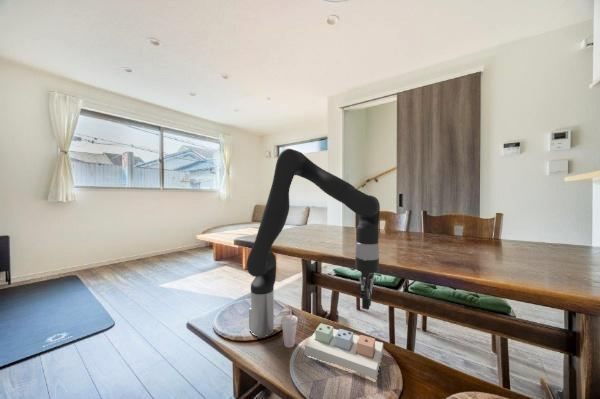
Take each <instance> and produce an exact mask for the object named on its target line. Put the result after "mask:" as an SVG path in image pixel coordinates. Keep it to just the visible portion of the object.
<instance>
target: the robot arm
mask: <svg viewBox="0 0 600 399" xmlns="http://www.w3.org/2000/svg"><path fill="white" fill-rule="evenodd" d="M295 176H298V177H301V178H303V179H306V180H307V181H310V182H311V183H312V184H314V185H316V187H317V188H319V189H320V190H321V191H322V192H324V193H325V194H326V195H328V196H329V197H331V198H333V199H335V200H336V201H338V202H340V203H341V204H343V205H345V206H346V207H347V208H348V209H349V210H351V211H352V212H354V213H355V214H356V215H358V224H357V227H356V238H355V240H356V243H355V257H354V258H355V263H354V264H355V267H354V268H355V269H356V271H358V272H360V273H361V274H360V275H359V283H358V285H357V286H358V291H359V292H358V293H359V298H360V299H361V300H362V301H361V304H362V305H361V308H362V309H364V310H367V311H368V310H369V309H370V307H371V305H372V294H373V292H372V291H374V281H375V280H374V279H375V273H377V272H379V270H380V246H379V223H380V222H379V221H380V212H381V207H380V206H381V204H380V201H379V199H378V198H377V197H376V196H373V195H370V194H369V195H368V194H367V193H364V192H362V191H360V190H359V189H357V188H356V187H355V186H354V185H353V184H351V183H349V182H347V181H346V180H344V179H342V178H341V177H338V176H336V175H334V174H332V173H331V172H329V171H327V170H325V169H323V168H321V167H320V166H318V165H317V164H316V163H315V162H313V161H312V160H310V159H309V158H308V157H307V156H306V155H305V154H303V153H302V152H300V151H298V150H295V149H293V148H285V149H283V150H282V151H281V152H280V153H279V155H278V156H277V159H276V163H275V169H274V174H273V178H272V183H271V186H270V190H269V194H268V197H267V201H266V204H265V206H264V210H263V212H262V217H261V221H260V223H259V227H258V230H257V234H256V237H255V239H254V243H253V245H252V247H251V250H250V251H249V254H248V256H247V260H246V269H247V271H248V274H249V275H250V276H252V277H254V279H253V280H252V282H251V283H250V308H248V330H249V329H250V330H251V331H252V333H254V334H255V335H257V336H259V337H258V338H265V337H264V336H266V335H269V334H270V333H271V332H272V331H273V328H275V324H274V323H275V322H274V320H275V318H274V317H275V315H274V314H275V313H274V312H275V311H274V310H275V306H274V305H275V304H274V300H275V299H274V298H275V297H274V295H275V293H274V290H275V289H274V286H275V282H276V278H277V276H276V275H277V258H276V256H275V254H274V252H273V251H272V250H271V249H272V246H273V244H274V242H275V241H276V240H277V239H278V237H279V235H280V234H281V232H282V230H283V229H284V227H285V225H286V221H287V219H288V215H289V213H290V212H289V211H290V190H291V185H292V182H293V180H294V178H295ZM273 332H274V331H273ZM252 333H251V334H252ZM269 336H270V335H269Z"/></svg>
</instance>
